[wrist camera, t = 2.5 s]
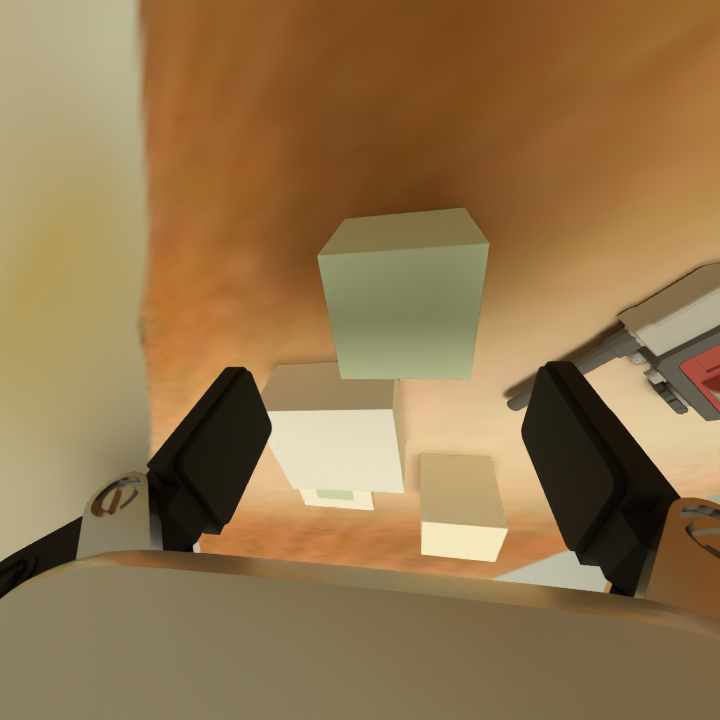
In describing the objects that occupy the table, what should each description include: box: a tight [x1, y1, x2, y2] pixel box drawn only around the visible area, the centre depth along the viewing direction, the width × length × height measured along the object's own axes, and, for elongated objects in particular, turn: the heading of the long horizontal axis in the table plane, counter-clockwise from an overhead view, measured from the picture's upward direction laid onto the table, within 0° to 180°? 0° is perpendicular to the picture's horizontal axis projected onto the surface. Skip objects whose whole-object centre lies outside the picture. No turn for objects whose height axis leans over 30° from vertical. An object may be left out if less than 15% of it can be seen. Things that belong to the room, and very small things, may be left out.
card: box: [299, 489, 374, 510], centre depth 32 cm, size 8×8×1 cm
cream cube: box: [420, 454, 508, 562], centre depth 26 cm, size 6×6×6 cm
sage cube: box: [317, 207, 490, 380], centre depth 15 cm, size 6×6×6 cm
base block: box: [260, 362, 405, 493], centre depth 22 cm, size 9×9×5 cm
